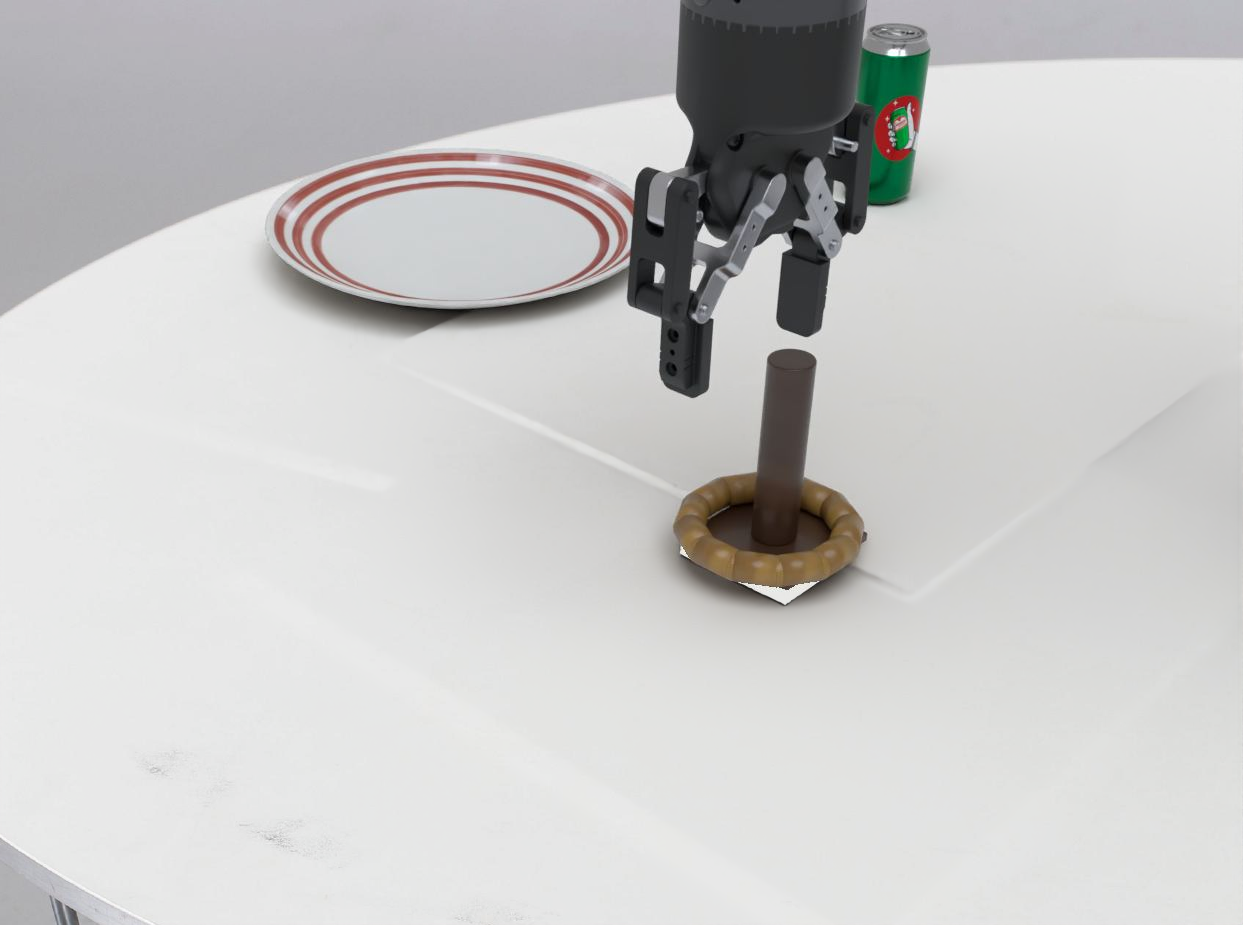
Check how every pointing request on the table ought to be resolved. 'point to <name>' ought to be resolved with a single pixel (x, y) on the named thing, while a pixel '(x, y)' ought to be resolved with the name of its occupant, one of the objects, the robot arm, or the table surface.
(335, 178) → the dinner plate
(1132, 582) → the table surface
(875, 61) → the soda can
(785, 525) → the stand
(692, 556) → the ring
